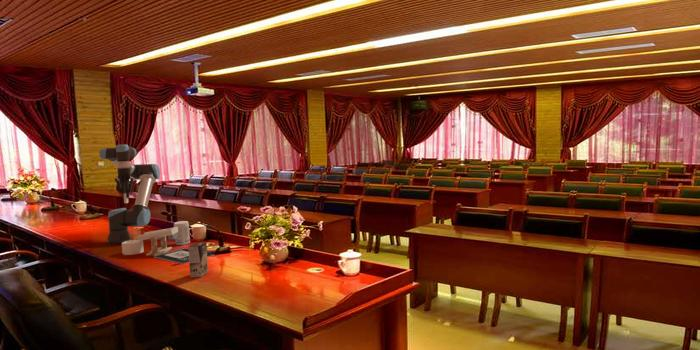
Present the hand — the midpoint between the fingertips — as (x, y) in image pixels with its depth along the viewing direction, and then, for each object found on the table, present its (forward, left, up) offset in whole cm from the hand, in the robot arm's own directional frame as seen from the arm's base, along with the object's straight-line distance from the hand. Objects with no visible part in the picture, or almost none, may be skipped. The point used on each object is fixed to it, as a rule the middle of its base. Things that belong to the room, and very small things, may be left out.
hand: (126, 202), depth 310 cm
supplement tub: (-3, +35, -30) cm, 46 cm away
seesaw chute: (+15, +29, -22) cm, 40 cm away
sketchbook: (+32, +49, -30) cm, 66 cm away
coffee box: (+71, +73, -30) cm, 106 cm away
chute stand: (+19, +29, -29) cm, 45 cm away
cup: (+19, +12, -29) cm, 37 cm away
